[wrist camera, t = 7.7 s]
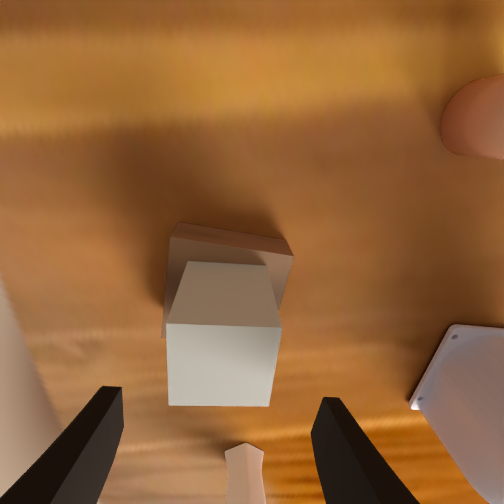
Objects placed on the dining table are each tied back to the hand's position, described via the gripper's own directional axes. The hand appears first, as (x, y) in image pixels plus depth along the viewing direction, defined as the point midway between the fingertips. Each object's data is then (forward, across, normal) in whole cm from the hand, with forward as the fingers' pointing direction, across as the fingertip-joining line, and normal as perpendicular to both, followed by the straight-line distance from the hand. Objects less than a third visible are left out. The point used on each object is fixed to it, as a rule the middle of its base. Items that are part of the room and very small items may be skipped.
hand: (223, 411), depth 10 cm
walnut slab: (+10, 0, 0) cm, 10 cm away
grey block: (+7, 0, 0) cm, 7 cm away
